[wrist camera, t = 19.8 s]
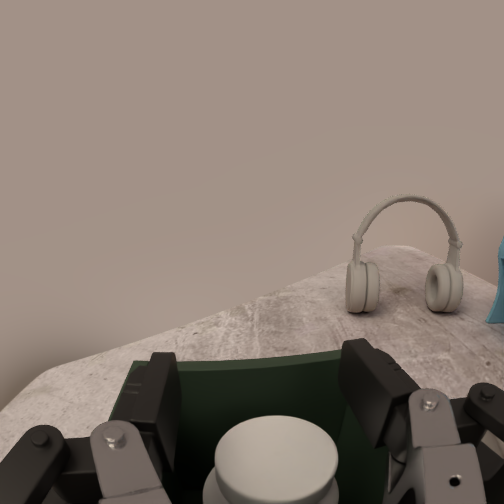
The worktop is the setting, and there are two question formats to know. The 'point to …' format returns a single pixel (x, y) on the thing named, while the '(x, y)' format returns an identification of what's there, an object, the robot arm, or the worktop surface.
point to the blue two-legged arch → (498, 292)
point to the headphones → (438, 278)
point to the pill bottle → (274, 464)
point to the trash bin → (267, 404)
